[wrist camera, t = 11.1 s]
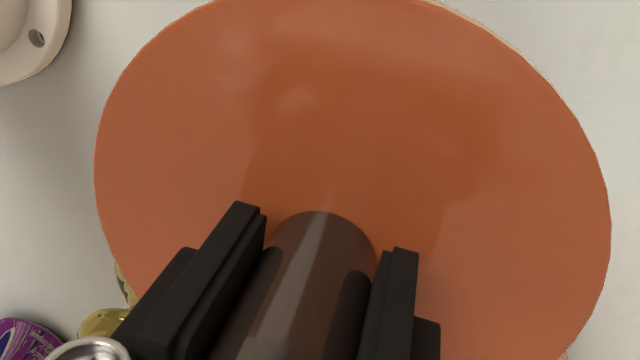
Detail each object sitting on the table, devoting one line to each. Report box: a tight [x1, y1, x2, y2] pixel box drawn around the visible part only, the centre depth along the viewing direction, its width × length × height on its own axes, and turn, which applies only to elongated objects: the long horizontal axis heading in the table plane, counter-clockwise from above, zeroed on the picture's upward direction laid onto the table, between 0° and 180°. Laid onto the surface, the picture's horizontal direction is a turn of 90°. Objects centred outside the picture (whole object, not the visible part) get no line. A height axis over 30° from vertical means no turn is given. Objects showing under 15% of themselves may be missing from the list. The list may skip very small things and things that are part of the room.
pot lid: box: [93, 0, 612, 360], centre depth 10 cm, size 12×12×7 cm
